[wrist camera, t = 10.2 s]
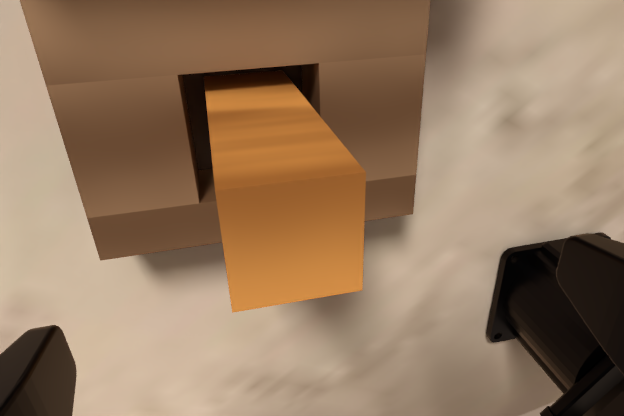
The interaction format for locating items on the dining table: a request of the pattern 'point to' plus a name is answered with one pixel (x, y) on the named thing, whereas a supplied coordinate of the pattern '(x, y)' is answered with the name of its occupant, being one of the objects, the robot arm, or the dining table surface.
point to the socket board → (212, 58)
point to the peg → (282, 193)
